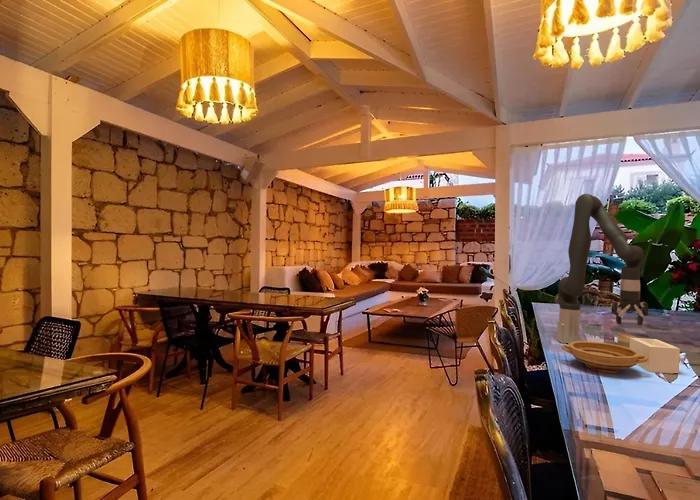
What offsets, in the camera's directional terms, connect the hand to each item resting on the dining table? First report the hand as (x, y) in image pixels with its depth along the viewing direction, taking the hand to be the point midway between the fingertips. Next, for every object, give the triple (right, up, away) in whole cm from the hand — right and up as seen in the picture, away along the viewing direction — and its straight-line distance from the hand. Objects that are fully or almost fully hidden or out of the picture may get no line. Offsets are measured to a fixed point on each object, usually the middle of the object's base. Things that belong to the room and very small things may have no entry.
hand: (629, 324), depth 181 cm
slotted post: (-3, -14, -18) cm, 23 cm away
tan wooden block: (-1, -14, 0) cm, 14 cm away
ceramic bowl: (-26, -14, -21) cm, 36 cm away
